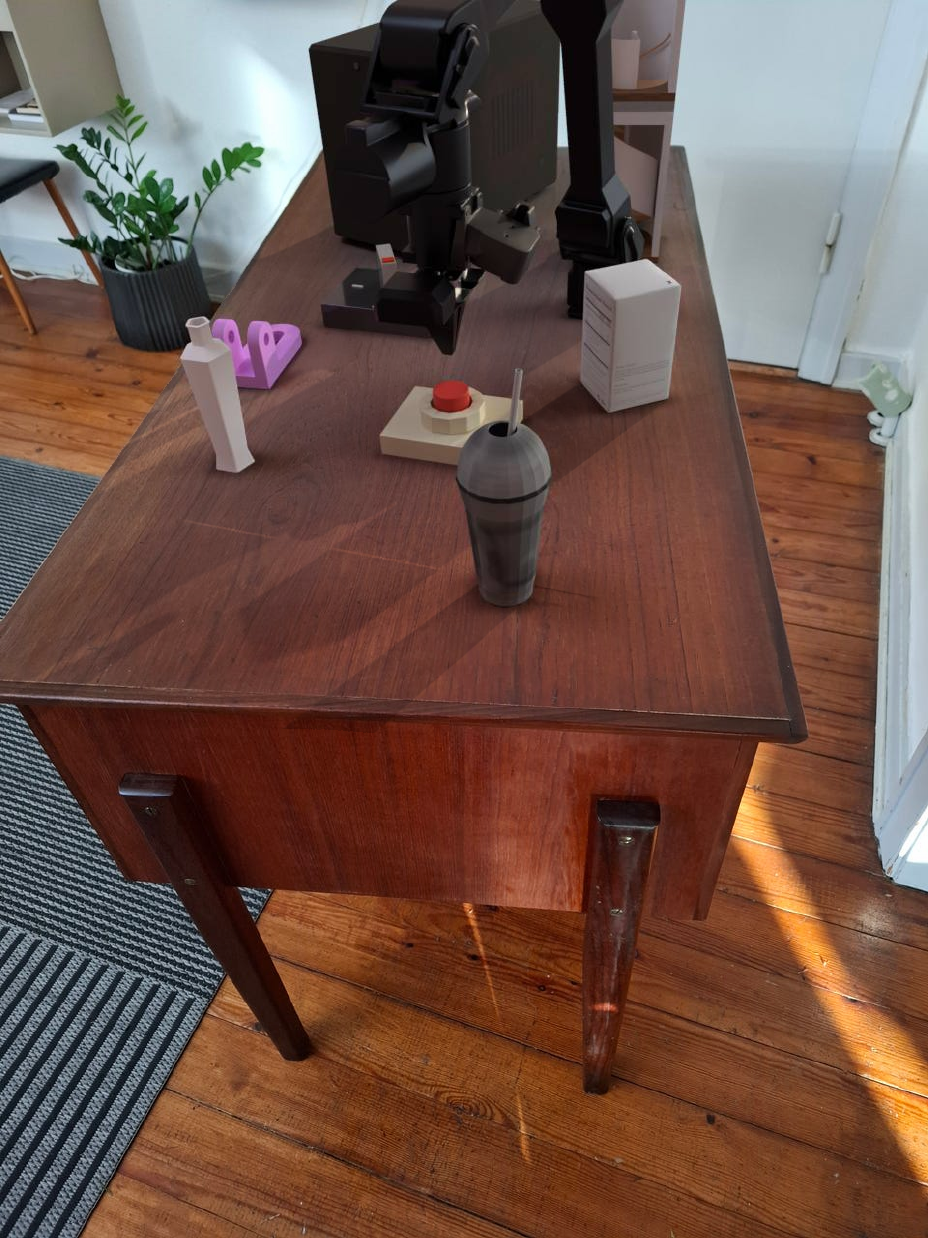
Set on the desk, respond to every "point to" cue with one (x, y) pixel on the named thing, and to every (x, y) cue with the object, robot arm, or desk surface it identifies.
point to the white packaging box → (628, 334)
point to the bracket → (259, 350)
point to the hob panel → (361, 306)
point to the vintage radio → (499, 131)
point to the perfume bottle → (216, 395)
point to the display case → (645, 106)
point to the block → (440, 425)
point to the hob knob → (385, 262)
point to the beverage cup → (504, 503)
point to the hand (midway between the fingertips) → (448, 353)
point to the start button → (451, 396)
